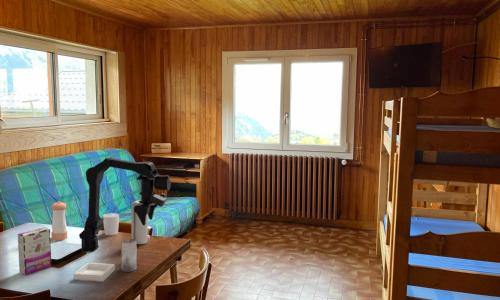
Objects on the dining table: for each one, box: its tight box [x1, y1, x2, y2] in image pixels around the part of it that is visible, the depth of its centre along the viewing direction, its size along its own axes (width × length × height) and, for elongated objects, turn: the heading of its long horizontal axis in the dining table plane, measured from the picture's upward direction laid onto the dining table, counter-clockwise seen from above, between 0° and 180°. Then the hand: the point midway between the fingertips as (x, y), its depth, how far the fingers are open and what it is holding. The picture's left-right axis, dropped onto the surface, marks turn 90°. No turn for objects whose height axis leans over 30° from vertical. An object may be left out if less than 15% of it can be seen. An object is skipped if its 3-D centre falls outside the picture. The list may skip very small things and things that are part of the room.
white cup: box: [102, 212, 120, 236], centre depth 211 cm, size 8×8×10 cm
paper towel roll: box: [130, 199, 149, 245], centre depth 198 cm, size 7×6×21 cm
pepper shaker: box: [50, 201, 68, 241], centre depth 201 cm, size 7×7×19 cm
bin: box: [73, 262, 116, 283], centre depth 160 cm, size 12×12×2 cm
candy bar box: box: [17, 226, 52, 276], centre depth 162 cm, size 11×5×16 cm, turn 148°
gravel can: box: [121, 238, 138, 273], centre depth 166 cm, size 6×6×12 cm
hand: (147, 222), depth 184 cm, fingers open, 9 cm apart
